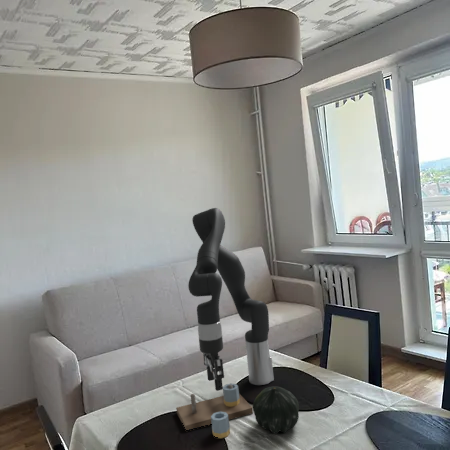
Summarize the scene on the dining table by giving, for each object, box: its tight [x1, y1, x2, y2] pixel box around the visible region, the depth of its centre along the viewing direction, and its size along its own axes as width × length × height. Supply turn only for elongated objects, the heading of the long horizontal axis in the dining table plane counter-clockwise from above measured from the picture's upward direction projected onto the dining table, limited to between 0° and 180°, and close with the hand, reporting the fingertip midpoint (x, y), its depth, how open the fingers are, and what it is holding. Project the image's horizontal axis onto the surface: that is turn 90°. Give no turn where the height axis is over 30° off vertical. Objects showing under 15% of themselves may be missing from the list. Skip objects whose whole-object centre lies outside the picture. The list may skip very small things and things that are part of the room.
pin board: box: [175, 383, 254, 431], centre depth 158 cm, size 24×14×9 cm, turn 109°
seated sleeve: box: [222, 383, 240, 407], centre depth 160 cm, size 5×5×6 cm
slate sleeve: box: [211, 412, 231, 439], centre depth 144 cm, size 5×5×6 cm
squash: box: [252, 385, 300, 435], centre depth 144 cm, size 14×15×15 cm
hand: (215, 384), depth 143 cm, fingers open, 8 cm apart
